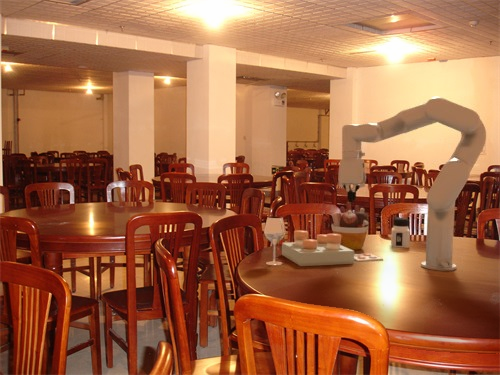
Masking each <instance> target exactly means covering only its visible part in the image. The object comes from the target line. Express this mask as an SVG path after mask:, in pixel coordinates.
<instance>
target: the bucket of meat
mask: <svg viewBox="0 0 500 375" xmlns="http://www.w3.org/2000/svg"><path fill="white" fill-rule="evenodd" d="M351 203H352V202H349V201H347V202H346V203H345V204H346V205H345V206H346V209H345V207H344V206H340V208H339V211H340V212H338V211H337V212H334V213H331V217H332V222H333V223H331V224H330V225H331V229H332V230H331V232H332V234H340V235H341V243H340V245H342V246H344V247H346V248H349V249H351V250H353V251H359V250H362V248H364V245H365V241H366V239H367V238H366V237H367V234H368V230H369V224H370V223H369V214H368V213H365V208H364V207H360V206H359V205H357V204H356V205H355V206H354V212H352V211H353V210H352V204H351Z"/></svg>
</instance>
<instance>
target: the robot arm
mask: <svg viewBox="0 0 500 375" xmlns="http://www.w3.org/2000/svg"><path fill="white" fill-rule="evenodd" d="M436 123H439V124H442V125H443V126H445V127H448V128H451V129H454V130H456V131H458V132H460V133H461V137H460V140H459V141H458V144H457V145H456V147H455V149H454V151H453V153H452V155H451V157H450V158H449V159H448V161H447V162H445V163H444V164H443V166H442V167H441V169H440V171H439V172H438V174H437V176H436V178H435V180H434V181H433V183H432V185H431V187H430V188H429V190H428V192H427V193H426V204H427V217H426V218H427V220H426V221H427V222H426V242H425V243H426V245H425V261H422V262H421V264H420V265H421V267H422V268H424V269H427V270H432V271H443V272H444V271H446V272H447V271H454V270H456V269H457V265H456V264H455V263H453V251H454V247H453V246H454V245H453V244H454V231H455V230H454V228H455V210H456V209H455V207H456V200H457V199H458V197H459V195H460V193H461V191H462V190H463V188H464V187H465V185H466V183H467V182H468V180H469V178H470V176H471V175H470V174H471V171H472V170H473V168H474V166H475V165H476V163H477V161H478V159H479V158H480V155H481V154H482V152H483V149H484V147H485V144H486V140H487V131H486V126H485V125H484V123H483V121H482V119H481V118H480V115H479V114H478V113H477V111H475V110H473V109H470V108H469V107H467V106H466V107H465V106H464V105H460V104H458V103H455V102H453V101H450V100H448V99H445V98H443V97H440V96H434V97H431V98H430V99H429V100H427V101H426V102H423V103H420V104H417V105H414V106H412V107H409V108H405V109H403V110H400V111H399V112H397V114H395V115H394V116H392V117H390V118H387V119H384V120H381V121H379V122H375V123H372V122H367V123H363V124H354V123H353V124H352V123H351V124H343V126H342V129H341V158H340V161H339V165H338V166H339V168H338V174H337V175H338V179H337V180H338V187H340V188H343V189H344V190H345V191H346V193H347V201H348V202H350V203H354V202H355V201H356V200H357V192H358V190H360V188H365V187H366V181H367V179H366V175H367V174H366V167H365V166H366V165H365V160H364V158H363V157H365V156H366V153H365V152H363V151H362V143H370V144H375V143H379V142H382V141H385V140H387V139H390V138H391V139H392V138H394V137H396V136H399V135H403V134H407V133H409V132H413V131H415V130H418V129H421V128H424V127H427V126H431V125H434V124H436Z"/></svg>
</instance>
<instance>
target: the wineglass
mask: <svg viewBox="0 0 500 375" xmlns="http://www.w3.org/2000/svg"><path fill="white" fill-rule="evenodd" d="M263 233H264V236H265V237H266V239H268V241H269V242H271V244H272V246H273V251H272V252H273V255H272V257H273V258H272V261H267V262H266V263H265V265H266V266H267V265H268V266H273V267H274V266H275V267H276V266H277V267H278V266H282V265H283V262H281V261H276V250H277V249H276V246H277V244H278V243H279V242H281V241H282V240H283V238H284V237H285V236H286V233H287V232H286V226H285V222H284V217H283V216H278V215H272V216H267V218H266V222H265V226H264V229H263Z"/></svg>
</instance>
